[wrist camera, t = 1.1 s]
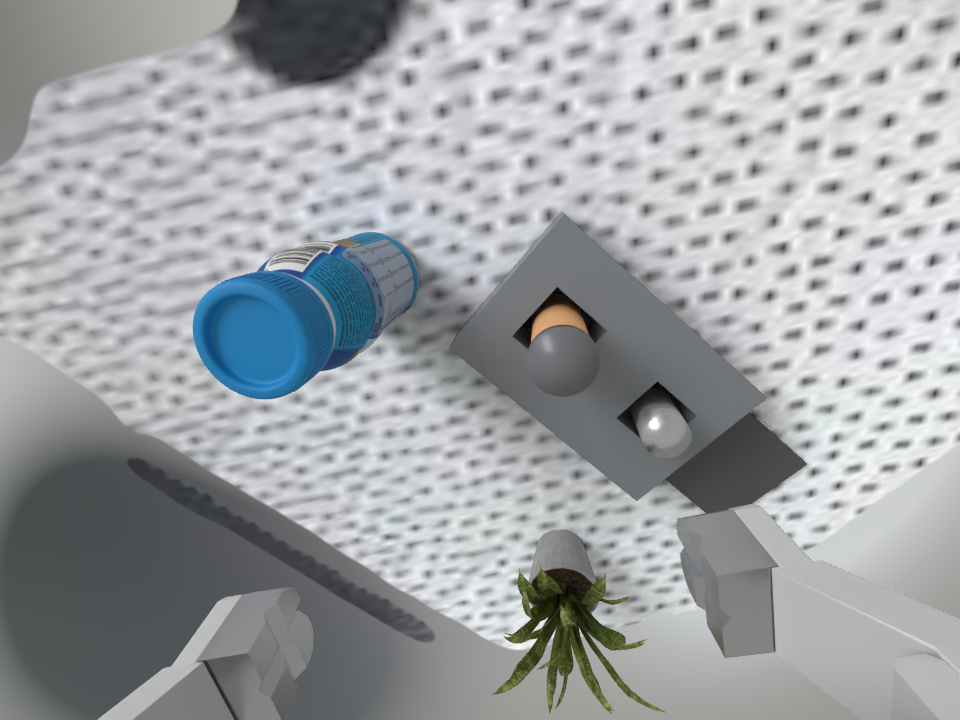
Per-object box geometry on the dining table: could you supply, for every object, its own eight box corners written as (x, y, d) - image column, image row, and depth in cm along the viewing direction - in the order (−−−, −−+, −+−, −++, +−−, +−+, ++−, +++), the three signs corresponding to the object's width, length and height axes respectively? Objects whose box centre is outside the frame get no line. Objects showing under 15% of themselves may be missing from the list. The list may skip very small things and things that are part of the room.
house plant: (657, 511, 47) (712, 663, 32) (619, 607, 52) (651, 778, 37) (522, 481, 48) (513, 615, 33) (497, 578, 53) (480, 734, 38)
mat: (731, 396, 42) (733, 398, 42) (804, 461, 43) (806, 464, 43) (649, 463, 45) (650, 466, 45) (719, 521, 47) (720, 525, 46)
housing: (459, 330, 43) (449, 347, 38) (561, 211, 38) (564, 214, 34) (627, 469, 46) (636, 501, 41) (741, 374, 41) (767, 398, 37)
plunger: (621, 407, 41) (632, 438, 35) (651, 379, 39) (668, 408, 34) (650, 432, 41) (665, 466, 36) (681, 405, 40) (701, 437, 35)
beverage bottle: (439, 267, 41) (356, 329, 23) (392, 337, 44) (284, 444, 26) (361, 210, 40) (208, 226, 22) (318, 285, 43) (151, 356, 25)
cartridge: (555, 280, 40) (560, 314, 29) (595, 315, 41) (615, 361, 30) (519, 319, 42) (512, 366, 31) (558, 352, 43) (564, 409, 31)
